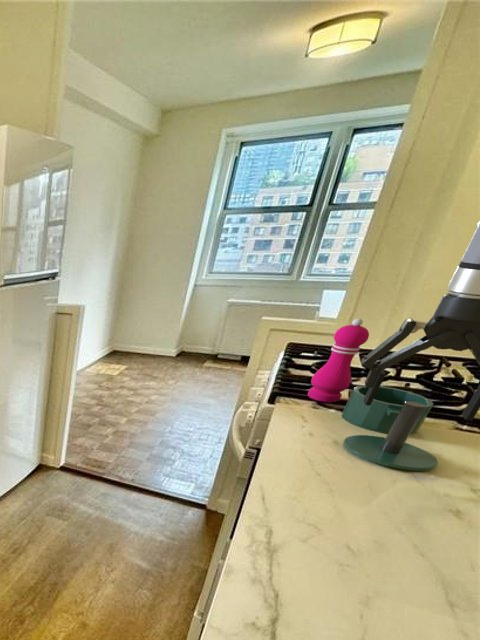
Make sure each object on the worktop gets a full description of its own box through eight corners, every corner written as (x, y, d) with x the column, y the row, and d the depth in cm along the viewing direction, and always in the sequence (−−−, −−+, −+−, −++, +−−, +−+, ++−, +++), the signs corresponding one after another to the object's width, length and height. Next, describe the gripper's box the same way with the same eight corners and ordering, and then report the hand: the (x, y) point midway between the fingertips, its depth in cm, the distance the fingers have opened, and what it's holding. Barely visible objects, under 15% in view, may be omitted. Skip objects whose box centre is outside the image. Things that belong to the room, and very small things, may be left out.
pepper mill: (346, 399, 121) (385, 319, 111) (333, 405, 118) (372, 324, 108) (312, 390, 126) (346, 313, 117) (299, 396, 123) (333, 317, 114)
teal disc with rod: (426, 450, 98) (456, 399, 92) (443, 480, 88) (478, 425, 83) (338, 434, 105) (362, 386, 99) (345, 460, 95) (372, 408, 90)
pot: (408, 414, 113) (422, 388, 109) (426, 445, 100) (443, 416, 97) (337, 403, 119) (349, 378, 116) (346, 430, 106) (359, 403, 103)
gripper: (380, 292, 85) (331, 403, 95) (605, 306, 72) (521, 432, 82) (373, 286, 90) (327, 391, 101) (582, 297, 78) (505, 417, 88)
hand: (414, 410), depth 91 cm, fingers open, 13 cm apart
